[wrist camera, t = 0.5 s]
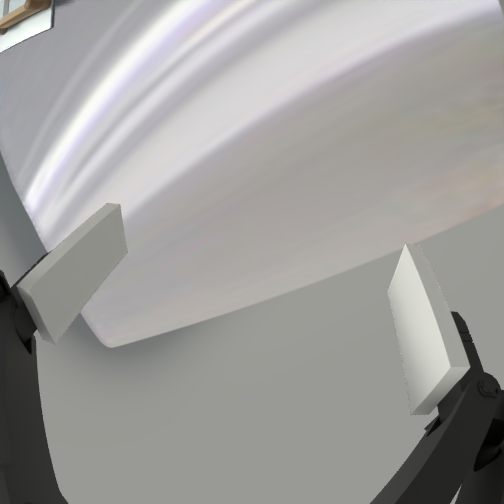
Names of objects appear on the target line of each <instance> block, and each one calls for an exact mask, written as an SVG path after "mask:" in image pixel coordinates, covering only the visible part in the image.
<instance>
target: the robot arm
mask: <svg viewBox="0 0 504 504" xmlns="http://www.w3.org/2000/svg"><path fill="white" fill-rule="evenodd" d="M127 253H128V250H127V245H126V239H125V233H124V227H123V221H122V214H121V207H120V204H112V203H107V204H106V205H105V206H103V207H102V208H101V209H100V210H98V211H97V212H96V213H95V214H93V215H92V216H91V217H90V218H89V219H87V220H86V221H85V222H84V223H83V224H82V225H80V226H79V227H78V228H77V229H76V230H75V231H73V232H72V233H71V234H70V235H69V236H68V237H67V238H66V239H64V240H63V241H62V242H61V243H60V244H59V245H58V246H57V247H56V248H55V249H53V250H52V251H50V252H49V253H47V254H45V255H44V256H43V257H41V258H40V259H39V260H38V261H37V262H36V264H34V265H33V266H32V267H31V269H29V270H28V271H27V272H26V273H25V274H24V275H23V276H22V277H21V278H20V279H19V280H18V281H17V282H16V283H15V284H14V285H13V286H12V287H11V288H10V286H9V284H8V282H7V280H6V278H5V275H4V273H3V272H2V271H1V270H0V504H68V502H67V501H66V500H65V498H64V497H63V496H62V494H61V492H60V490H59V488H58V484H57V481H56V478H55V473H54V470H53V466H52V462H51V457H50V453H49V448H48V444H47V438H46V433H45V428H44V422H43V415H42V408H41V401H40V392H39V384H38V371H37V356H36V339H35V336H34V335H33V333H34V332H35V331H36V330H38V332H39V333H40V335H41V337H42V339H43V340H46V341H48V342H50V343H53V344H56V343H57V342H58V341H59V339H60V338H61V336H62V335H63V334H64V332H65V331H66V330H67V328H68V327H69V325H70V324H71V323H72V321H73V320H74V319H75V317H76V316H77V314H78V313H79V312H80V311H81V310H82V308H83V307H84V306H85V304H86V303H87V302H88V301H89V299H90V298H91V297H92V295H93V294H94V293H95V292H96V290H97V289H98V288H99V287H100V285H101V284H102V283H103V282H104V280H105V279H106V278H107V277H108V276H109V274H110V273H111V272H112V271H113V270H114V268H115V267H116V266H117V265H118V264H119V262H120V261H121V260H122V259H123V258H124V256H125V255H126V254H127ZM387 293H388V297H389V301H390V305H391V310H392V314H393V318H394V323H395V327H396V332H397V337H398V342H399V346H400V351H401V357H402V363H403V368H404V374H405V380H406V386H407V393H408V400H409V407H410V414H411V415H426V414H430V413H431V412H432V410H433V409H434V408H435V407H436V406H438V412H439V415H438V416H437V417H436V418H435V419H434V420H433V421H432V422H431V423H430V424H429V425H428V426H427V427H426V428H425V430H427V429H428V430H427V431H426V433H425V434H424V436H423V437H422V439H421V440H420V442H419V443H418V445H417V446H416V447H415V449H414V450H413V452H412V453H411V454H410V456H409V457H408V458H407V460H406V461H405V462H404V464H403V465H402V466H401V468H400V469H399V471H397V473H396V474H395V475H394V476H393V478H392V479H391V480H390V481H389V482H388V484H387V485H386V486H385V487H384V488H383V489H382V491H381V492H380V493H379V494H378V495H377V496H376V498H375V499H374V500H373V501H372V502H371V503H370V504H450V503H451V501H452V499H453V498H454V496H455V495H456V493H457V491H458V489H459V488H460V486H461V488H460V491H459V494H458V497H457V500H456V502H455V504H504V390H501V388H500V385H499V383H498V381H497V380H496V379H495V378H494V377H493V376H492V375H490V374H488V373H486V372H484V371H483V368H482V365H481V362H480V359H479V356H478V354H477V351H476V348H475V345H474V343H472V341H473V340H472V337H471V335H470V334H469V330H468V327H467V325H466V323H465V321H464V320H463V319H462V317H461V316H460V315H459V314H458V312H451V311H450V310H449V307H448V305H447V303H446V300H445V298H444V295H443V293H442V291H441V289H440V286H439V284H438V282H437V280H436V278H435V275H434V273H433V271H432V269H431V267H430V265H429V263H428V261H427V259H426V257H425V254H424V252H423V250H422V249H421V247H420V246H417V245H412V244H406V243H405V246H404V249H403V252H402V255H401V257H400V260H399V263H398V266H397V268H396V271H395V274H394V277H393V279H392V281H391V284H390V287H389V289H388V292H387ZM461 484H462V485H461Z"/></svg>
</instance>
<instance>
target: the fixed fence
mask: <svg viewBox="0 0 504 504" xmlns="http://www.w3.org/2000/svg"><path fill="white" fill-rule="evenodd" d="M50 5H51V0H26V2H25V4H23V5H22V6H20V7H18V8H17V9H15V10H13V11H12V12H10V13H9V14H7V15H5V16H4V17H2V18H1V19H0V34H1V33H5V31H6V30H7V28H9V27H10V26H12V25H14V24H16V23H17V22H19V21H21V20H23V19H25V18H27V17H28V16H30V15H32V14H34V13H36V12H38V11H40V10H46V9H48V8H49V7H50Z"/></svg>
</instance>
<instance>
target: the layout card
mask: <svg viewBox="0 0 504 504" xmlns="http://www.w3.org/2000/svg"><path fill="white" fill-rule="evenodd" d="M25 2H26V0H0V19H1V18H2V17H4V16H5V15H7V14H9V13H10V12H12V11H13V10H15V9H17V8H18V7H20V6H22V5H23V4H25ZM53 4H54V0H51V5H50V7H49V8H48V9H46V10H40V11H38V12H36V13H34V14H32V15H30V16H28V17H27V18H25V19H23V20H21V21H19V22H17V23H16V24H14V25H12V26H10V27H9V28H7V30H6V31H5V33H1V34H0V53H1V52H3V51H5V50H7V49H8V48H10V47H12V46H14V45H16V44H18V43H20V42H22V41H24V40H26V39H28V38H30V37H33V36H35V35H37V34H39V33H41V32H44V31H46V30H48V29H51V28H52V18H53Z"/></svg>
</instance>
